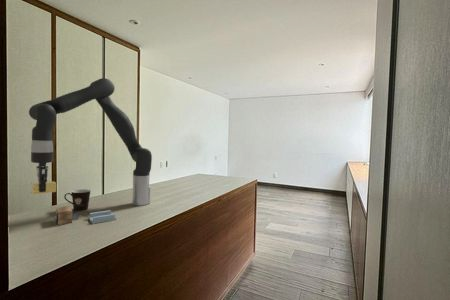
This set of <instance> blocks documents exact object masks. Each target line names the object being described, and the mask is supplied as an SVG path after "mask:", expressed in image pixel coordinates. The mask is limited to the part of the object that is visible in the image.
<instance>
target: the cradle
mask: <svg viewBox="0 0 450 300" xmlns="http://www.w3.org/2000/svg"><path fill="white" fill-rule="evenodd" d="M88 220H89V222H90V223H91V224H92V225H94V224H99V223H104V222H111V221H117V217H116V213H112V210H109V209H107V210H104V211H103V210H102V211H95V212H89V215H88Z"/></svg>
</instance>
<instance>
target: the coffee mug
mask: <svg viewBox="0 0 450 300" xmlns="http://www.w3.org/2000/svg"><path fill="white" fill-rule="evenodd" d="M67 195H70V196H71V198H72V201H70V200H68V198H67V197H66V196H67ZM90 196H91V189H87V188H85V189H84V188H82V189H74V190H72V191H71V193H70V192H67V193H65V194H64V197H63V198H64V199H65V201H66V202H67V203H70V204H71V205H72V206H73V212H85V211H88V209H89V202H90Z"/></svg>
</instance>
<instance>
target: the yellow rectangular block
mask: <svg viewBox="0 0 450 300" xmlns="http://www.w3.org/2000/svg"><path fill="white" fill-rule="evenodd" d="M30 187H31V188H30V190H31V192H30V193H31V194H32V195H38V194H39V195H40V194H49V193H56V192H57V182H56V181H47V182H46V191H45V192H39V182H35V183H34V182H32V183H31V186H30Z"/></svg>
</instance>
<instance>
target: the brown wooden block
mask: <svg viewBox="0 0 450 300" xmlns="http://www.w3.org/2000/svg"><path fill="white" fill-rule="evenodd" d="M55 209H56V210H55V211H56V213H55V216H58V224H57V225H58V226H61V225H68V224H72V223H73V220H72V213H73V210H72V208H71V207H70V206H69V205H68V206H60V207H55Z"/></svg>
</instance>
